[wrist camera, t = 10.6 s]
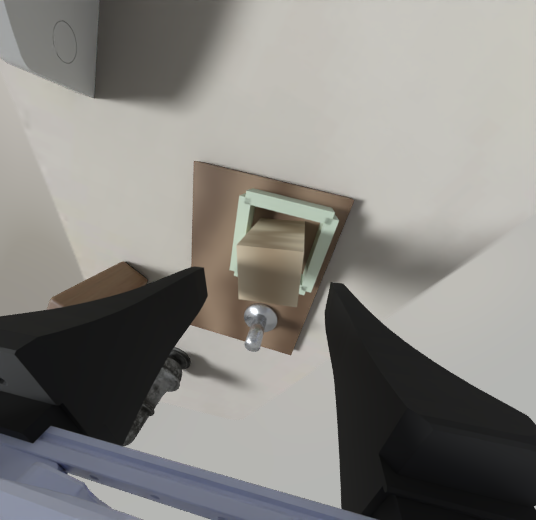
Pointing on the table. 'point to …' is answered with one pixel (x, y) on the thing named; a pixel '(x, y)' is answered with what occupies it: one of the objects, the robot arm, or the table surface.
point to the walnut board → (221, 242)
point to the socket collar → (295, 209)
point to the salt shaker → (160, 389)
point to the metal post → (258, 324)
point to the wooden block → (100, 286)
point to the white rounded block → (52, 40)
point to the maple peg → (271, 262)
